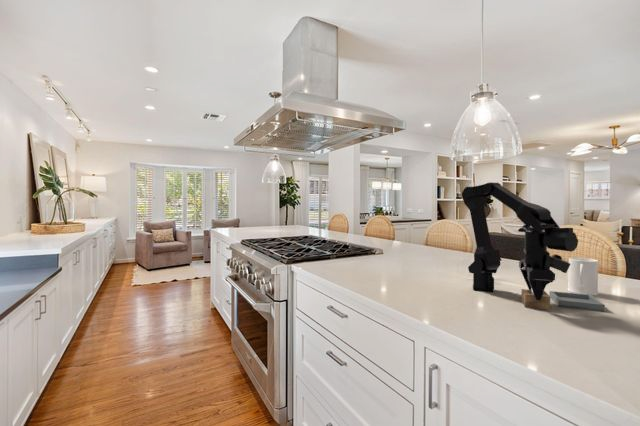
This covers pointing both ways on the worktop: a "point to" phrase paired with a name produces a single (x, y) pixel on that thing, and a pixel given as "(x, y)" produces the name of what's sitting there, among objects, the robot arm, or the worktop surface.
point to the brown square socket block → (531, 301)
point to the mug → (583, 276)
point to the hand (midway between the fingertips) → (535, 295)
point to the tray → (576, 301)
